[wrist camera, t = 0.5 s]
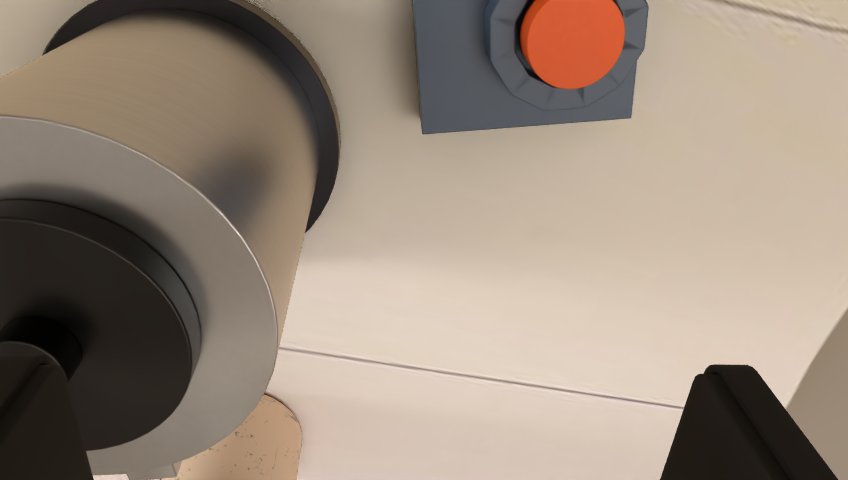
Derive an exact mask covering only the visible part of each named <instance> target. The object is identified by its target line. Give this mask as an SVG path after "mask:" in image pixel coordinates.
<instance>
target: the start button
mask: <svg viewBox="0 0 848 480" xmlns="http://www.w3.org/2000/svg"><path fill="white" fill-rule="evenodd" d="M624 39H625V25H624V20H623V16H622V14H621V12H620V10H619V8H618V6H617V5H616V4H615V2H614V1H613V0H534V1H533V2H532V4H531V5H530V6H529V8H528V10H527V11H526V13H525V16H524V18H523V21H522V24H521V29H520V44H521V49H522V52H523V55H524V57H525V59H526V60H527V62H528V63H529V65H530V66H531V67H532V69H533V70H534V71H535V73H536V74H537V75H538V76H539V77H540V78H541V79H542V80H543V81H545V82H546V83H548V84H550V85H552V86H554V87H558V88H562V89H577V88H582V87H585V86H588V85H590V84H593V83H594V82H596V81H598V80H599V79H601V78H602V77H603V76H605V75H606V74H607V73H608V72H609V71H610V70H611V68H612V67H613V66H614V64H615V63H616V62H617V60H618V58H619V56H620V54H621V51H622V48H623V45H624Z"/></svg>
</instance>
